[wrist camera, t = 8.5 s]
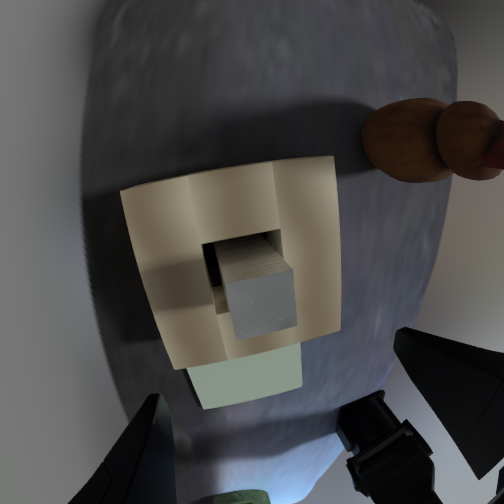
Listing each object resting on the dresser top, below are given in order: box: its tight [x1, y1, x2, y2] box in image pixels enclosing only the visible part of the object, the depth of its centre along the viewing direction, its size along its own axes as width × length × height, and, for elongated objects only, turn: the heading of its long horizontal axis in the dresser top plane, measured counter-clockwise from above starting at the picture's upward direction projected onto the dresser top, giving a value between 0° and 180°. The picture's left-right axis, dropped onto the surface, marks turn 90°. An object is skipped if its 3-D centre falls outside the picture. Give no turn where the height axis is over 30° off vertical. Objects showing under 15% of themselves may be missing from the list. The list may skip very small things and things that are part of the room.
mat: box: [187, 343, 302, 409], centre depth 23 cm, size 10×8×1 cm
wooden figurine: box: [361, 98, 504, 183], centre depth 12 cm, size 7×6×15 cm
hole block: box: [120, 156, 341, 370], centre depth 18 cm, size 12×12×4 cm
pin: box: [214, 233, 298, 341], centre depth 16 cm, size 3×3×8 cm
